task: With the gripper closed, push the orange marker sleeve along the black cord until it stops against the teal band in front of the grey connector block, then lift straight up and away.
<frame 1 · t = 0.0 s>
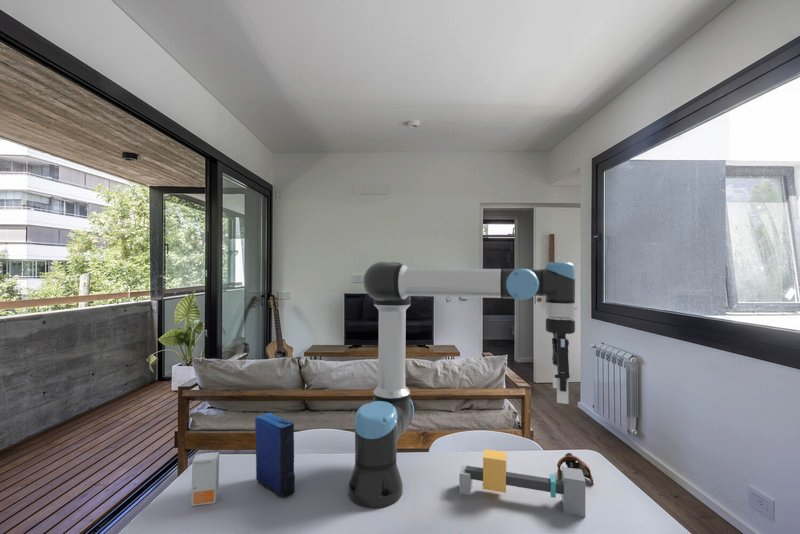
hand: (560, 395, 107), 28 cm above the table, tool pointing down, fingers open, 13 cm apart
book: (274, 488, 110), on the table
cord rail: (517, 498, 105), on the table
skincare box: (205, 501, 104), on the table
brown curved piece: (574, 481, 115), on the table
marker sleeve: (494, 470, 107), point 7 cm above the table, slide at 0.0 cm
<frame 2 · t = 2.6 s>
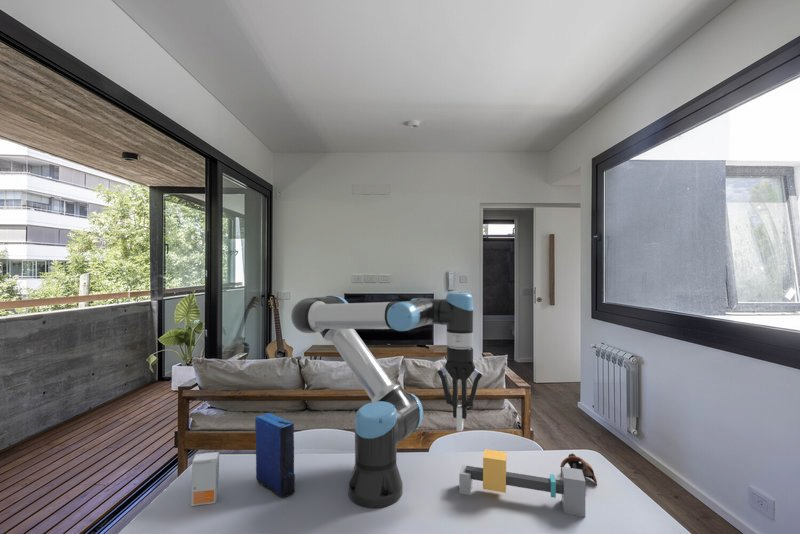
hand: (460, 429, 110), 17 cm above the table, tool pointing down, fingers closed
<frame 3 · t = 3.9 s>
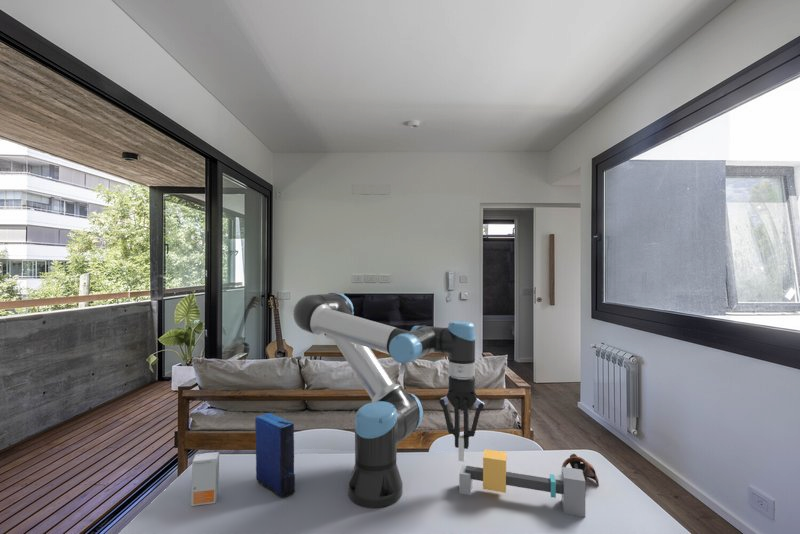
hand: (461, 458, 110), 8 cm above the table, tool pointing down, fingers closed
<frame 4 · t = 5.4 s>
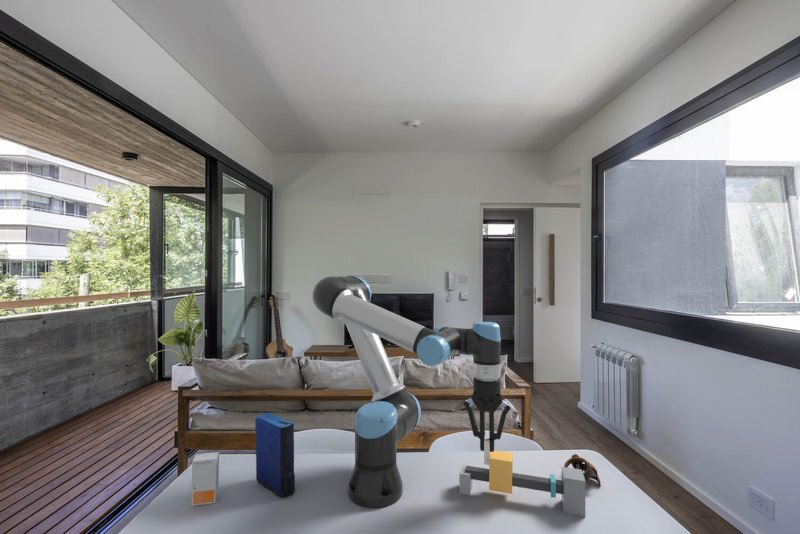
hand: (487, 462, 108), 9 cm above the table, tool pointing down, fingers closed
marker sleeve: (501, 471, 107), point 7 cm above the table, slide at 1.7 cm, touching gripper
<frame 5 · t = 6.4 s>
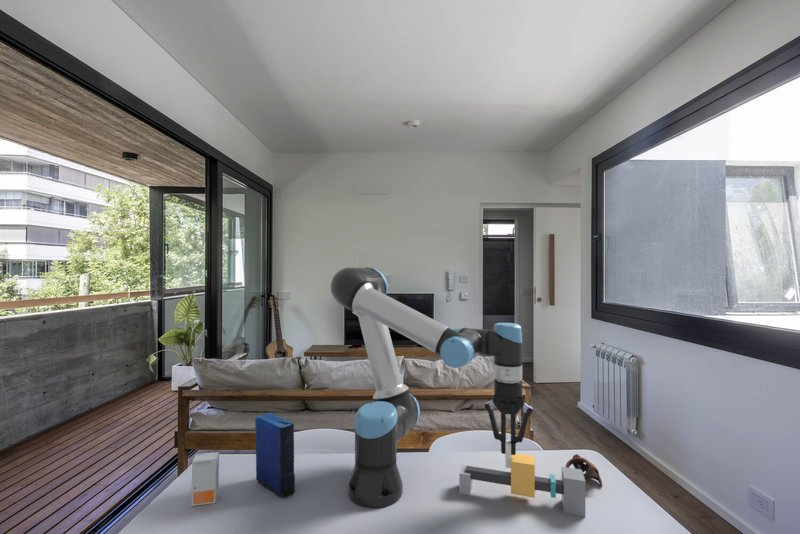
hand: (508, 465, 106), 9 cm above the table, tool pointing down, fingers closed
marker sleeve: (522, 474, 105), point 7 cm above the table, slide at 7.4 cm, touching gripper
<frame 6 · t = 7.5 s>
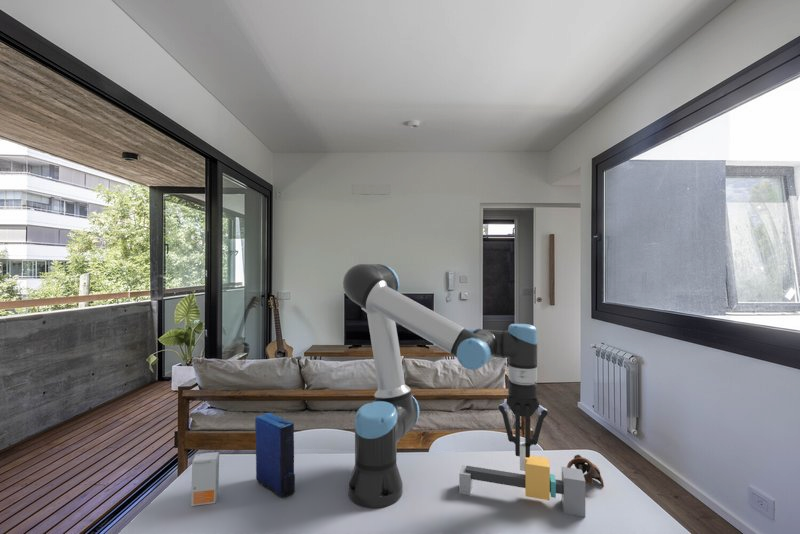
hand: (522, 468, 105), 8 cm above the table, tool pointing down, fingers closed
marker sleeve: (537, 476, 104), point 7 cm above the table, slide at 11.1 cm, touching gripper
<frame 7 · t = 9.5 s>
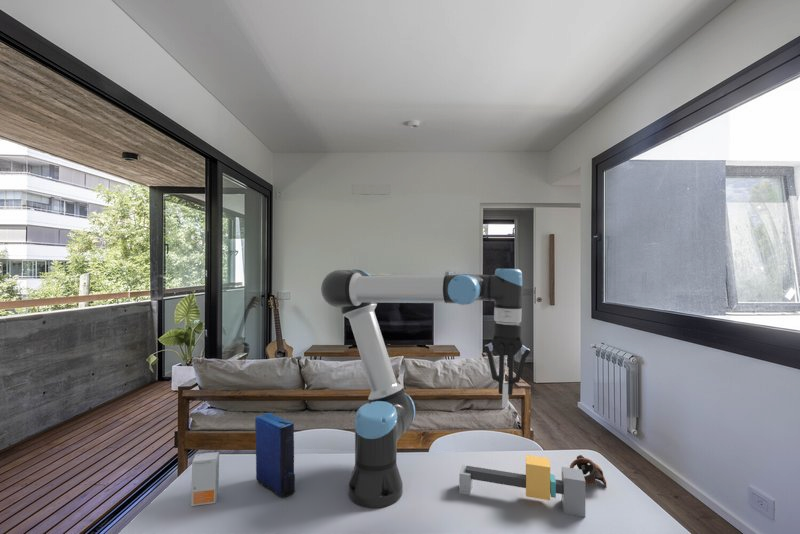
hand: (505, 405, 110), 24 cm above the table, tool pointing down, fingers closed
marker sleeve: (537, 476, 104), point 7 cm above the table, slide at 11.2 cm
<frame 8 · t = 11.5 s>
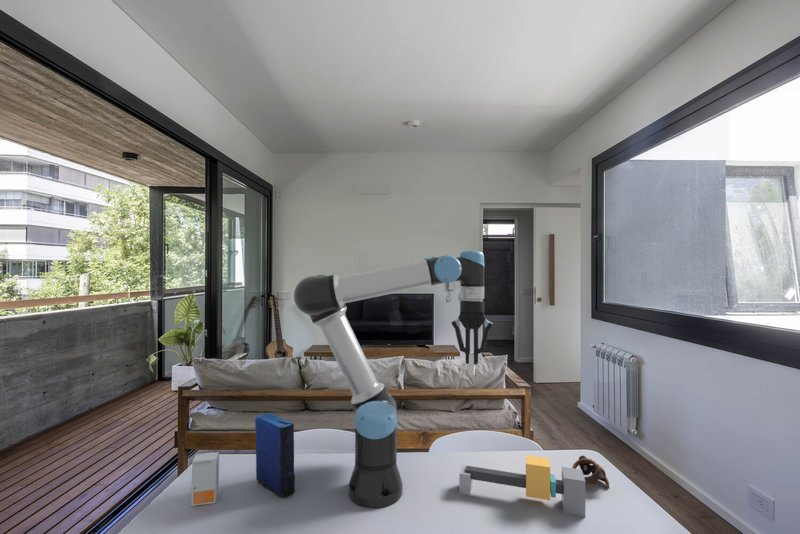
hand: (471, 374, 122), 29 cm above the table, tool pointing down, fingers closed
at the end: marker sleeve slide at 11.2 cm; the gripper is holding nothing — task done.
